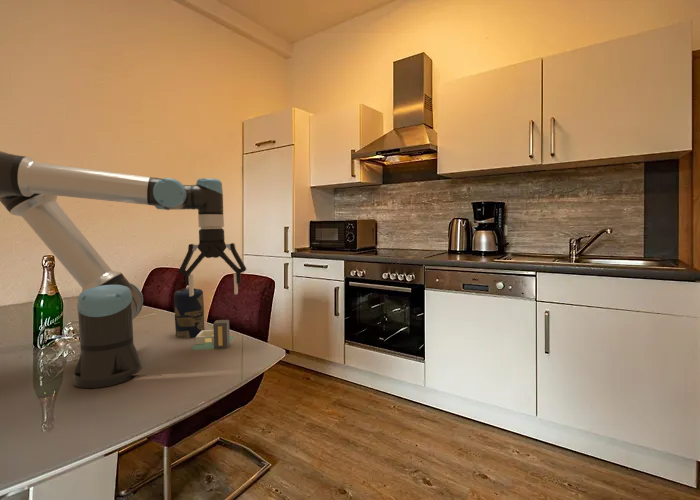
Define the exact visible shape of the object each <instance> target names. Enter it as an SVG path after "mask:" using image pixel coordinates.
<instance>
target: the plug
mask: <svg viewBox="0 0 700 500" xmlns="http://www.w3.org/2000/svg"><path fill="white" fill-rule="evenodd" d="M212 328H213V330H214V349H213V350H219V348H222V349H228V348H229V346H230V345H231V343H230V336H231V335H230V319H217V320H215V321H214V322H213V327H212Z"/></svg>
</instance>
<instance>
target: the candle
mask: <svg viewBox="0 0 700 500" xmlns="http://www.w3.org/2000/svg"><path fill="white" fill-rule="evenodd" d="M173 301H174V303H173V304H174V305H173V306H174V324H175V325H174V326H175V337H176V338H177V339H194V338H196V336H197V335H198V334H199V333H200V332H201V331H202V330H206V329H205V305H204V292H203V290H202V289H200V288H194V295H193V296H189V286H188V287H184V288H182V289H179V290H176V291H175V292H174V294H173Z"/></svg>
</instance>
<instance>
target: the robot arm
mask: <svg viewBox="0 0 700 500" xmlns="http://www.w3.org/2000/svg"><path fill="white" fill-rule="evenodd" d="M58 196H59V197H65V198H66V197H68V198H77V199H85V200H86V199H88V200H95V201H104V202H105V201H108V202H117V203H118V202H119V203H124V204H125V203H126V204H135V205H145V206H154V207H155V208H156V209H157V210H166V211H170V210H171V211H172V210H174V211H175V210H177V211H178V210H197V211H198V213H197V216H198V217H197V221H198V227H199V228H200V229H199V230H198V244H194V243H190V244H188V248H187V249H188V250H187V252H186V255H185V256H184V259H183V261H182V264H181V265H180V267H179V270H178V274H180V275H183V276H184V278H185V282H184V283H185V286H188V287H189V296H193V295H194V286H195V285H194V274H191V273H193V271H194V270H195V269H196V268H197V267H198V266H199V264H200V263H201V262H202V261H203V260H204V258H207V259H211V258H214V259H218V258H220V259H223V261H224V263H227V266H229V267H230V269H232V270H233V271H234V273H233V286H234V287H233V288H234V289H233V292H234V295H238V294H239V288H238V287H239V284H241V283H242V277H241V276H242V273H244V272H246V271H247V267H246V265H245V263H244V261H243V260H242V257H241V256H240V254H239V253H238V251H237V249H236V243H234V242H231V243H227V244H226V242H225V229H224V227H225V223H224V222H225V219H224V193H223V183H222V181H221V180H220V179H217V178H210V177H207V178H206V177H205V178H198V179H197V180H196V184H191V185H189V184H183V183H182V182H181V181H180V180H177V179H175V178H171V177H165V178H162V177H161V178H159V177H151V176H145V175H137V174H132V173H131V174H129V173H122V172H114V171H107V170H99V169H91V168H83V167H77V166H70V165H69V166H67V165H60V164H53V163H45V162H44V163H43V162H38V161H35V159H33V158H32V157H30V156H26V155H25V156H23V155H18V154H17V155H16V154H13V153H8V152H5V151H1V150H0V203H1V204H2V205H3V206H4V208H5V209H6V210H7V211H8V212H9V213H10V215H12V216H17V217H21V218H23V220H24V221H25V222H26V223H27V224H28V226H29V227H30V228H31V229H32V230H33V231H34V233H35V234H36V235H37V236H38V238H40V240H41V241H42V242H43V243H44V244H45V246H46V247H47V248H48V250H50V251H51V253H52V254H53V255H54V256H55V258H56V259H57V260H58V261H59V262H60V264H62V266H63V267H64V268H65V269H66V270H67V272H68V273H69V274H70V276H71V277H73V279H74V280H75V281H76V282H77V284H78V285H79V286H80V287H81V292H80V293H79V295H78V297H77V303H76V305H77V306H76V309H77V314H78V316H77V317H78V328H79V329H78V330H79V331H78V332H79V343H80V353H79V356H78V359H77V362H76V366H75V369H74V371H73V375H72V376H73V377H72V378H73V385H74V386H75V387H77V388H83V389H93V388H94V389H97V388H104V387H110V386H114V385H117V384H122V383H124V382H127V381H129V380H132V379H134V378H136V377H137V376H138V374H136V373H139V371H141V369H142V368H143V362H142V360H141V357H140V354H139V353H138V350H137V348H136V346H135V344H134V327H133V320H134V319H135V318H136V317H137V316H138V315H139V314H140V313H141V311H142V309H143V305H144V304H143V303H144V297H143V293H142V291H141V290H140V288H139V287H137V286H136V285H135V284H133V283H131V282H130V281H128V279H127V278H126V277H125V276H124V275H123V273H122V272H121V271H116V270H112V268H111V267H110V266H109V264H108V263H107V262H106V261H105V260H104V259H103V257H102V256H101V255H100V254H99V253H98V251H97V250H96V248H95V247H94V246H93V245H92V244H91V243H90V241H89V240H88V239H87V237H86V236H85V235H84V234H83V233H82V231H81V230H80V229H79V228H78V226H76V224H75V223H74V221H72V219H71V217H69V216H68V213H66V212H65V210H64V209H63V208H62V207H61V205H60V204H59V203H58V202H57V199H58ZM226 249H228V250H229V251H230V252H231V255H232V256H233V257H234V259H235V261H236V262H237V264H238V266H239V267H238V266H237V264H235V262H233V260H232V259H231V258H230V257H229V256H228V255H227V254H226V253H225V252H224V251H225V250H226ZM197 250H198V251H199V252H200V254H199V255H198V256H197V257H196V259H195V260H194V261H193V262H192V264H190V266H189V267H188V265H189V263H190V261H191V258H192V257H193V254H194V252H196V251H197ZM186 269H187V270H186Z"/></svg>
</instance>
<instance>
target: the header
mask: <svg viewBox="0 0 700 500" xmlns="http://www.w3.org/2000/svg"><path fill="white" fill-rule="evenodd" d="M205 338H206V339H205ZM208 342H212V344H214V329H205V330H202V331H201V332H200V333H199V334H198V335H197V336H196V337H195V344H196V345H198V344H205V343H208Z"/></svg>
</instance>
